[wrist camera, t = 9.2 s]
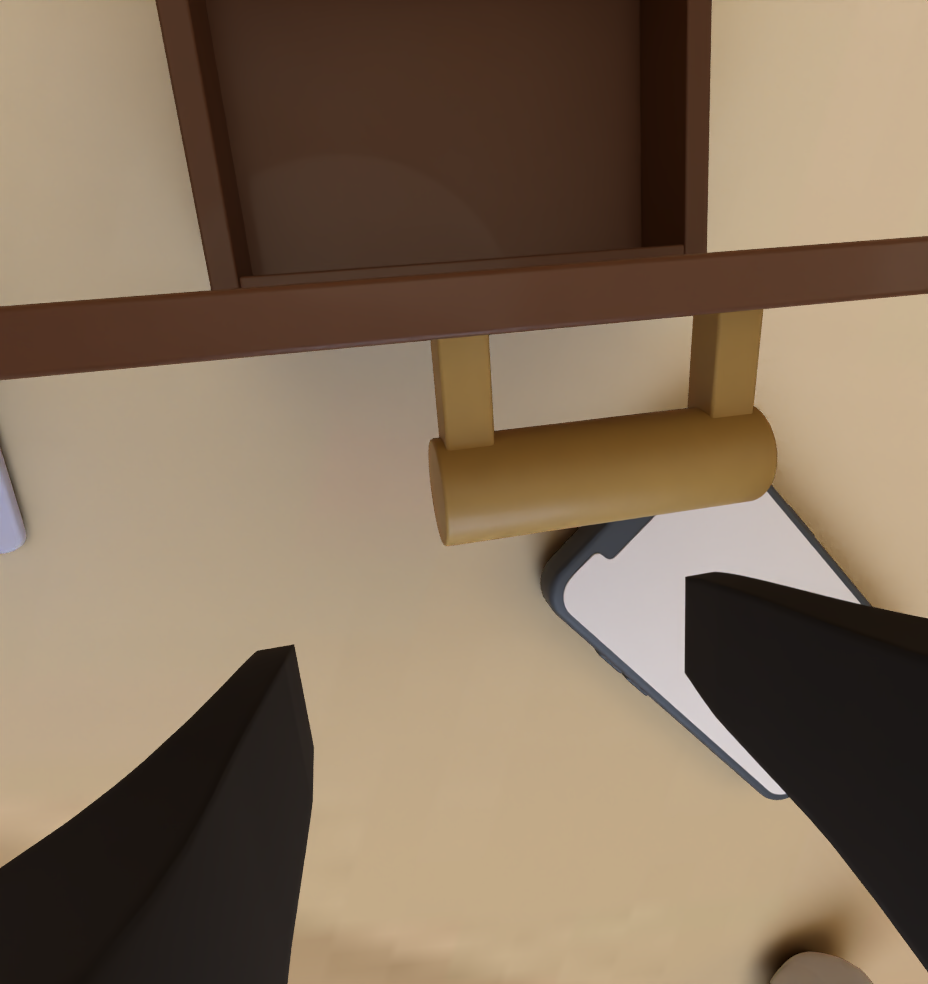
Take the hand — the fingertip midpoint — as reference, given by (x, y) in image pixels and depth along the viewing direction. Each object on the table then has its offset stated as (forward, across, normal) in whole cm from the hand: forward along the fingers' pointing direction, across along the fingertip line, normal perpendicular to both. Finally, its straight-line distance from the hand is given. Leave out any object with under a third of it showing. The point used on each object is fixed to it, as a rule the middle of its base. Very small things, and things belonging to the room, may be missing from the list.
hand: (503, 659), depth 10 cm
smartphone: (+10, -12, +7) cm, 17 cm away
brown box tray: (+10, -2, -12) cm, 16 cm away
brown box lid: (+2, -2, -7) cm, 7 cm away
